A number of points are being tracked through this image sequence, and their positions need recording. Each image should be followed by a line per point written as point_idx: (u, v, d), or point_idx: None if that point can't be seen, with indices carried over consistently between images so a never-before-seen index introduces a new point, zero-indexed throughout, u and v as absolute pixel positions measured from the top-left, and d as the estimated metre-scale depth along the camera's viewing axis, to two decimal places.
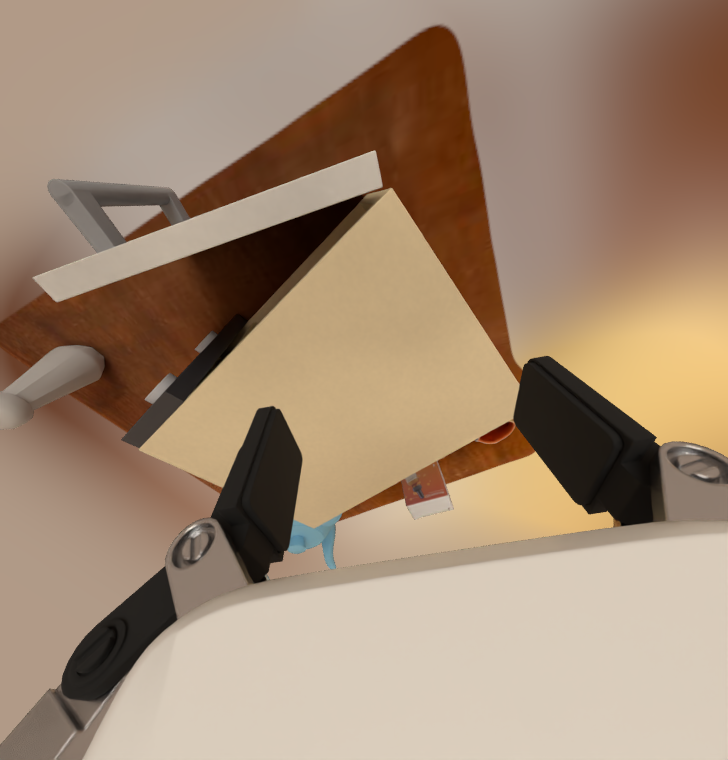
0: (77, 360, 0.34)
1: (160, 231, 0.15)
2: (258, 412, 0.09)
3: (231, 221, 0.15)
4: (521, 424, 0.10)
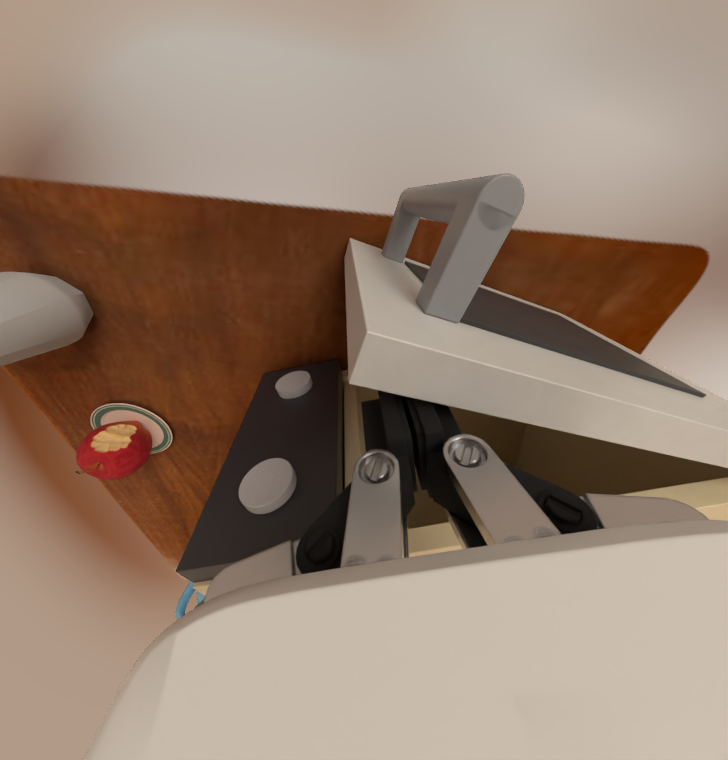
0: (57, 314, 0.19)
1: (632, 406, 0.08)
2: None
3: (696, 442, 0.10)
4: None
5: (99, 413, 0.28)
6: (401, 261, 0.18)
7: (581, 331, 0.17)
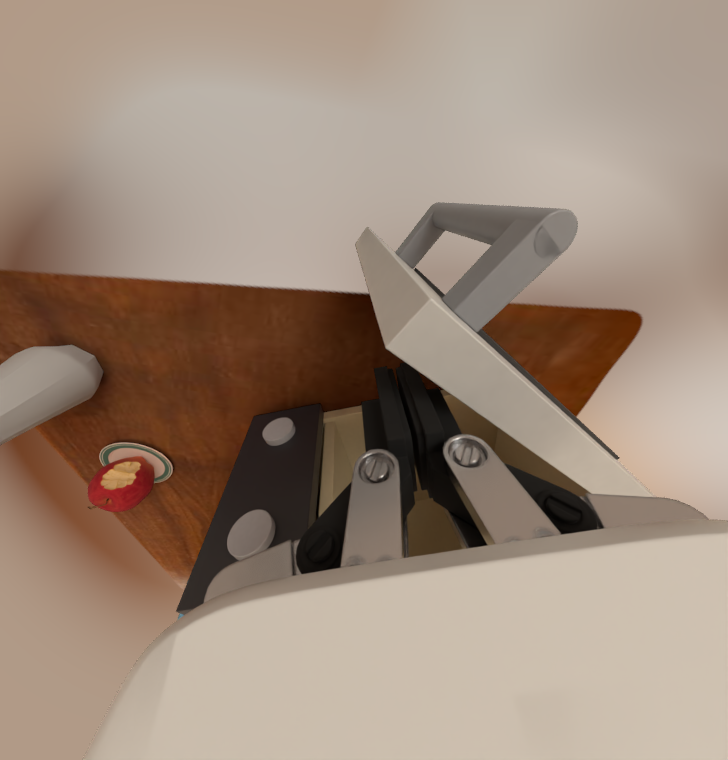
0: (74, 382, 0.22)
1: (594, 446, 0.09)
2: (377, 370, 0.10)
3: (618, 490, 0.11)
4: None
5: (107, 451, 0.31)
6: (412, 266, 0.18)
7: None
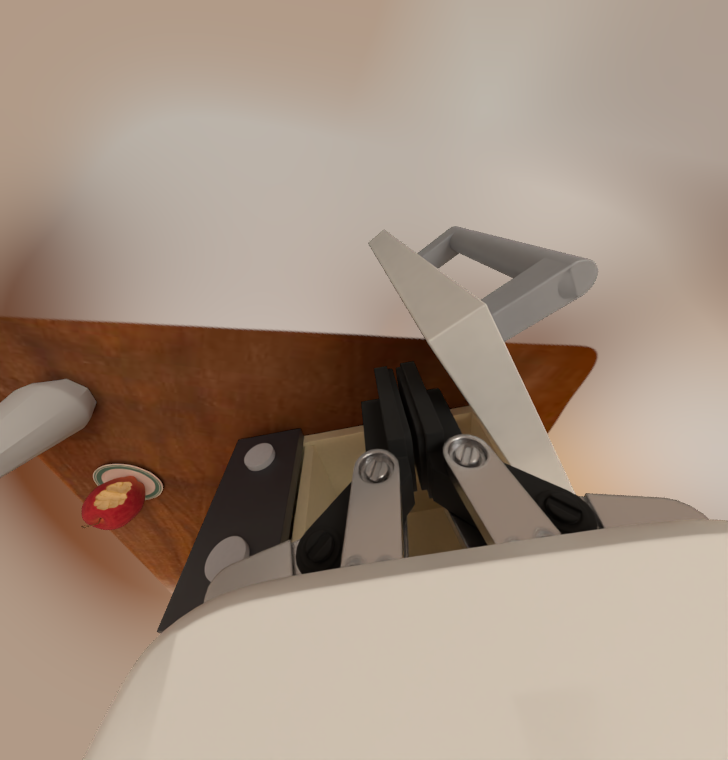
0: (68, 416, 0.24)
1: (564, 475, 0.10)
2: (377, 370, 0.10)
3: None
4: None
5: (100, 471, 0.33)
6: None
7: None
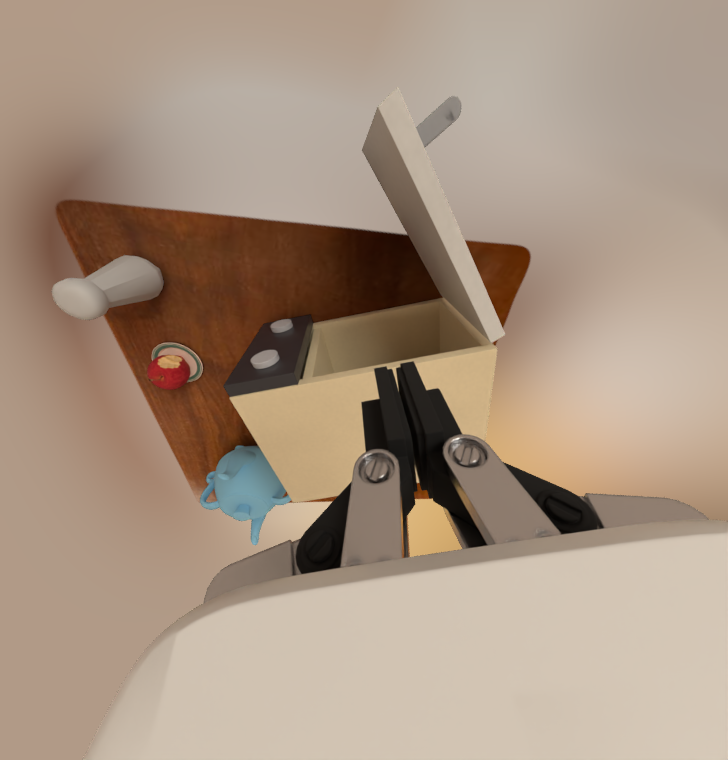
0: (151, 279, 0.35)
1: (454, 219, 0.21)
2: (377, 370, 0.10)
3: (466, 268, 0.23)
4: None
5: (158, 349, 0.44)
6: None
7: None
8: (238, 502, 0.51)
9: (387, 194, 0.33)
